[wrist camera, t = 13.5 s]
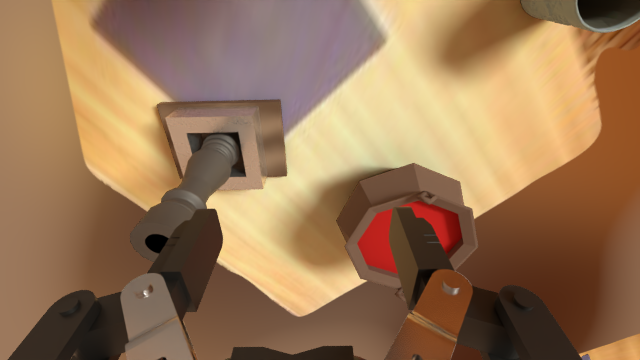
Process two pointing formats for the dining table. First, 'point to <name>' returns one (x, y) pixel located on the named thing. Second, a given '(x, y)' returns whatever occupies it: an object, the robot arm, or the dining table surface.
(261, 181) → the square collar
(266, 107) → the socket board
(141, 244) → the candle holder
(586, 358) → the signage
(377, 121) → the dining table surface
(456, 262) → the brown cauldron
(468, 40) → the dining table surface
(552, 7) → the grey cylindrical container
